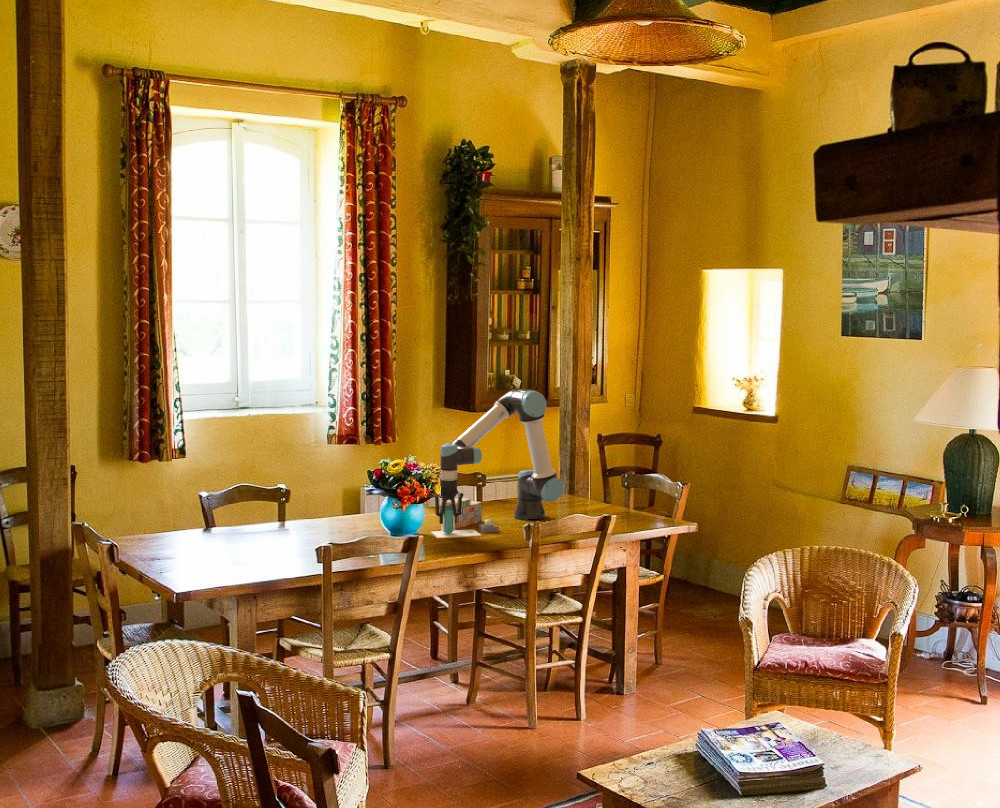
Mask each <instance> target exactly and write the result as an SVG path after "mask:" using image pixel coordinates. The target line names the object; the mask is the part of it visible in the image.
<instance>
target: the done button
mask: <svg viewBox="0 0 1000 808" xmlns="http://www.w3.org/2000/svg"><path fill="white" fill-rule="evenodd" d="M484 524H485V527H489V526H492V524H493V519H491V518H490V519H488V518H487V519H486V518H485V519H484Z"/></svg>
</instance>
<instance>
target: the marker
mask: <svg viewBox="0 0 1000 808" xmlns="http://www.w3.org/2000/svg"><path fill="white" fill-rule="evenodd" d="M443 516H444V517H445V532H444V533H452V532H453V506H452V505H445V510H444V514H443Z"/></svg>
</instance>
